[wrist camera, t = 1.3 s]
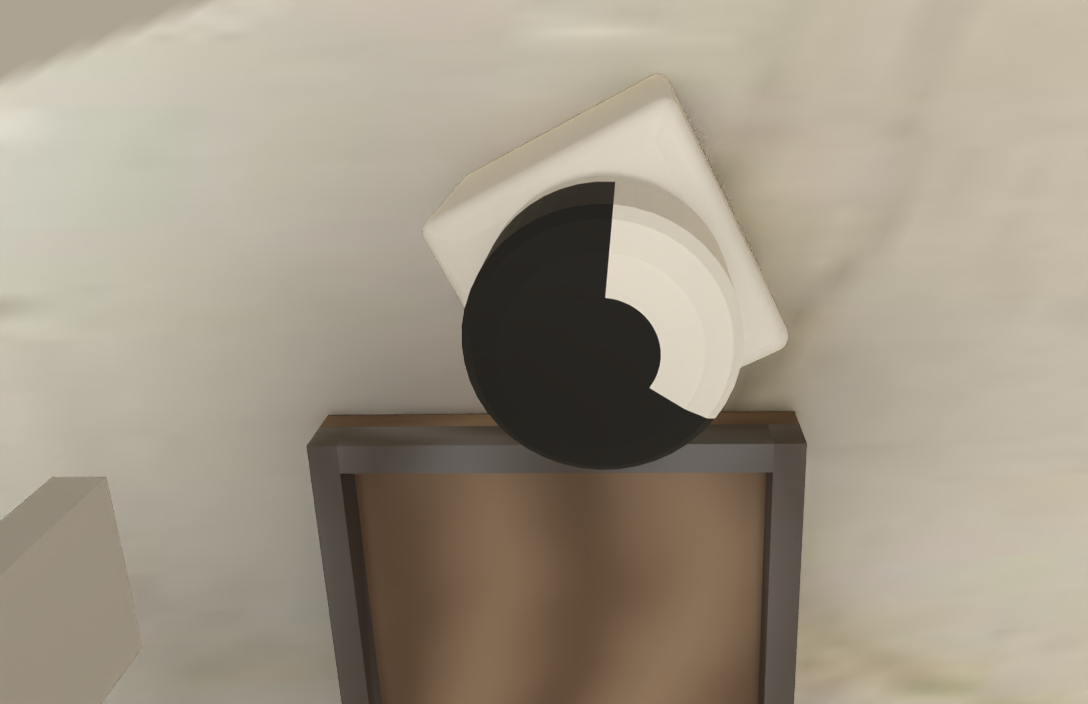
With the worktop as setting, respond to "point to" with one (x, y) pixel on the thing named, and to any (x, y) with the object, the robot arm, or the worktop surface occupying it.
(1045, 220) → the worktop surface
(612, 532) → the wooden tray
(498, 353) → the medicine bottle
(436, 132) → the worktop surface
